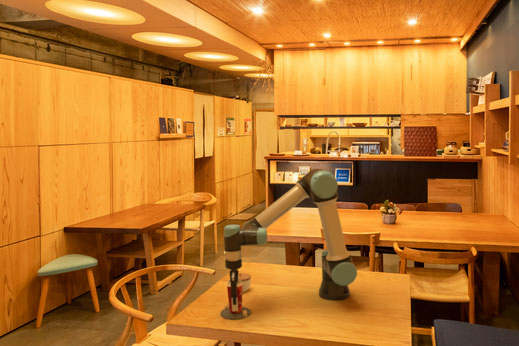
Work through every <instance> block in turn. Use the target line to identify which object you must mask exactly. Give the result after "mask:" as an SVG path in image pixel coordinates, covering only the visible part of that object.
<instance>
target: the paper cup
mask: <svg viewBox="0 0 519 346" xmlns="http://www.w3.org/2000/svg"><path fill="white" fill-rule="evenodd" d="M225 285H226V289H227V290H226V291H227V299H228V305H229V309H230V312H231V313H240V312H241V311H242V307H243V293H242V285H243V283H242V281H241V280H239V279H238V282H237V297H238V311H232V299H231V298H230V296H231V282H230V279H228V280H226V284H225Z"/></svg>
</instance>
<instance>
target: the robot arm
mask: <svg viewBox="0 0 519 346" xmlns="http://www.w3.org/2000/svg"><path fill="white" fill-rule="evenodd" d="M338 185H339V184H338V181H337V178H336V176H334V175H333V173H332V172H330V171H328V170H324V169H322V168H313V169H311V170H310V171H308V172H307V173H306V174H304V176H302V177H301V178H299V180H297V181H296V182H295V186H293V187H291V189H289V190H288V191H287V192H285V193H284V194H282V196H280V197H279V198H278V199H276V201H274V202H273V203H271V204H270V205H269V206H268V207H266V209H264V210H263V211H262V212H260V213H259V214H258V215H256V216H255V217H254V218H253V219H251V220H249V221H246V222H244V224H243V226H242V228H241V226H240V225H239V224H227V225H225V226H224V227H223V246H224V251H223V255H224V259H225V260H224V263H225V264H224V265H225V267H224V268H225V269H228V270H229V276H228V277H229V280H230V282H231V296H230V298H231V299H232V311H238V297H237V282H238V274H239V273H240V272H239V269H241V268H242V267H243V261H242V260H243V259H242V255H243V254H242V246H243V247H244V246H261V245H266V244H267V242H268V231H267V229H268V228H269V227H270V226H271V225H273V224H274V223H275V222H277V221H278V220H279V219H280V218H281V217H283V216H284V215H286V214H287V213H288V212H290V210H292V209H293V208H295V207H296V206H297V205H298V204H300V203H301V202H302V201H304V200H305V199H309V198H312V203H314V204H315V205H317V209H318V214H319V218H320V223H321V228H322V232H323V237H324V241H325V244H326V248H327V249H324V250H322V251H321V257H320V258H321V277H322V278H321V283H320V285H319V289H318V296H319V297H321V298H323V299H324V300H329V301H341V300H345V299H348V298H349V297H350V296H351V291H350V288H349V285H351V284H352V283H354V281H355V280H356V279H357V276H358V269H357V267H356V265H355V264H354V262H353V259H352V254H351V252H350V251H349V250H348V249H347V248H346V247H347V246H346V243H345V242H346V241H345V238H344V233H343V227H342V224H341V219H340V215H339V211H338V205H337V199H338V198H339V195H338V188H339V187H338Z"/></svg>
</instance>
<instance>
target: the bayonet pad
mask: <svg viewBox="0 0 519 346" xmlns="http://www.w3.org/2000/svg"><path fill="white" fill-rule="evenodd" d="M251 314H252V310H251V309H250V308H249V307H246V306H242V311H241V312H240V313H231V312H230V309H229V303H225V304H224V308H223V309H222V310H221V311H220V316H221V317H222V318H223V319H226V320H233V321H234V320H235V321H236V320H242V319H246V318H248V317H249V316H250V315H251Z"/></svg>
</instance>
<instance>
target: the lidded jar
mask: <svg viewBox="0 0 519 346" xmlns="http://www.w3.org/2000/svg"><path fill="white" fill-rule="evenodd" d="M238 279H239V280H241V281H242V283H243V285H242V294H243V293H246V292H247V291H248V290H249V288H250V286H251V282H252V280H251V279H252V275H251V274H249V273H244V272H239V274H238Z"/></svg>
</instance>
